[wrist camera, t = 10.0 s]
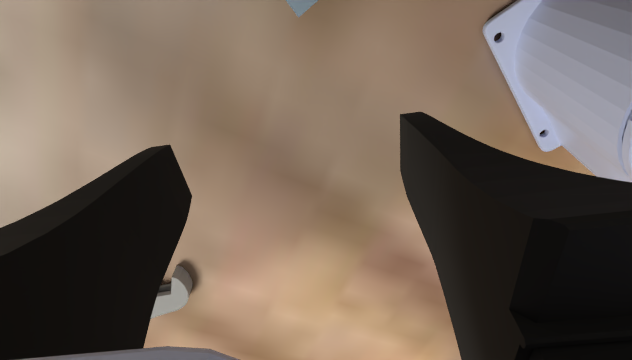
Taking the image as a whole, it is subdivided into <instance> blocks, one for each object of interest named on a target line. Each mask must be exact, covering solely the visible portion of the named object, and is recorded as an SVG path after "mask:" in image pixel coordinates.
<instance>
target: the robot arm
mask: <svg viewBox="0 0 632 360" xmlns="http://www.w3.org/2000/svg"><path fill="white" fill-rule="evenodd" d="M499 32H501V37H500V39H499V40H497V41H494V37H495V35H496V34H497V33H499ZM483 34H484V36H485V38H486V40H487V43H488V45H489V47H490V49H491V51H492V53H493V55H494V57H495V59H496V61H497V63H498V65H499V67H500V69H501V71H502V73H503V75H504V77H505V79H506V81H507V83H508V85H509V87H510V89H511V91H512V93H513V95H514V97H515V99H516V102H517V104H518V106H519V108H520V110H521V112H522V114H523V116H524V118H525V120H526V122H527V124H528V126H529V128H530V130H531V132H532V134H533V136H534V138H535V140H536V142H537V144H538V146H539V148H540V149H541V150H542V151H545V152H548V151H551V150H553V149H555V148H557V147H559V146H561V145H562V146H563V147H564V148H565V149H567V150H568V151H569V152H570V153H571V154H572V155H573V156H574V157H575V158H577V159H578V160H579V161H580V162H581V163H582V164H583V165H584V166H585V167H587V168H588V169H589V170H590V171H591V172H592V173H593V174H594V175H595V176H591V175H586V174H581V173H576V172H572V171H567V170H563V169H559V168H555V167H551V166H547V165H543V164H540V163H536V162H533V161H529V160H526V159H523V158H520V157H517V156H514V155H512V154H509V153H506V152H503V151H500V150H498V149H495V148H493V147H490V146H488V145H486V144H484V143H481V142H479V141H477V140H475V139H473V138H471V137H468V136H466V135H464V134H462V133H461V132H459V131H457V130H455V129H453V128H451V127H449V126H447V125H446V124H444V123H442V122H440V121H438V120H436V119H435V118H433V117H431V116H429V115H427V114H425V113H423V112H415V113H407V114H400V170H401V175H402V179H403V183H404V187H405V190H406V194H407V197H408V200H409V202H410V205H411V207H412V209H413V212H414V214H415V217H416V219H417V221H418V224H419V226H420V228H421V231H422V233H423V235H424V238H425V240H426V242H427V245H428V247H429V249H430V252H431V254H432V257H433V260H434V263H435V265H436V269H437V272H438V275H439V279H440V282H441V286H442V289H443V292H444V296H445V299H446V303H447V307H448V310H449V314H450V317H451V321H452V325H453V328H454V332H455V336H456V340H457V344H458V347H459V351H460V355H461V359H462V360H632V0H517V1H516V2H514V3H513V4H511V5H510V6H508V7H507V8H505V9H504V10H502V11H501V12H500V13H498V14H497V15H495V16H494V17H492V18H491V19H489V20H488V21H487V22H486V23H485V25H484V27H483ZM543 130H545V132H544V133H543V134H540V133H541V131H543ZM191 199H192V195H191V192H190V190H189V188H188V185H187V183H186V181H185V178H184V176H183V174H182V171H181V169H180V167H179V164H178V162H177V160H176V157H175V155H174V153H173V150H172V148H171V146H170V145H164V146H156V147H151V148H148V149H146V150H144V151H142V152H140V153H138V154H136V155H134V156H133V157H131V158H129V159H128V160H126V161H124V162H123V163H121V164H119V165H118V166H116V167H115V168H113V169H111V170H110V171H108V172H106V173H105V174H103V175H102V176H100V177H98V178H97V179H95V180H93V181H92V182H90V183H88V184H86V185H85V186H83V187H81V188H80V189H78V190H76V191H74V192H73V193H71V194H69V195H68V196H66V197H64V198H62V199H60V200H59V201H57V202H55V203H53V204H51V205H49V206H47V207H45V208H43V209H41V210H39V211H37V212H35V213H33V214H31V215H29V216H27V217H25V218H23V219H20V220H18V221H16V222H14V223H11V224H9V225H7V226H4V227H2V228H0V360H239V359H236V358H234V357H231V356H228V355H225V354H222V353H220V352H217V351H214V350H211V349H203V348H186V347H170V346H166V347H154V348H143V347H144V343H145V338H146V334H147V330H148V326H149V322H150V319H151V315H152V311H153V308H154V304H155V301H156V297H157V294H158V291H159V288H160V285H161V283H162V280H163V277H164V275H165V273H166V270H167V268H168V265H169V263H170V261H171V258H172V256H173V253H174V251H175V249H176V246H177V244H178V241H179V239H180V236H181V234H182V231H183V229H184V226H185V224H186V221H187V217H188V213H189V209H190V204H191Z"/></svg>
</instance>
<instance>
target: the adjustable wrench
mask: <svg viewBox="0 0 632 360" xmlns="http://www.w3.org/2000/svg"><path fill="white" fill-rule="evenodd" d="M192 286H193V284H192V279H191V277H190V275H189V273H188V272H187V271H186V270H185V269H184V268H183V267H181V266H179V265H177V266H176V268H175V271H174V273H173V275H172V282H171V283H170V284H165V285H160V288H159V291H158V294H157V297H156V301H155V304H154V308H153V311H152V315H151V318H154V317H157V316H160V315H163V314H166V313H170V312H173V311H177V310H179V309H181V308H182V307H183V306H185V305H186V303H187V301H188V298H189V295H190V292H191V289H192Z"/></svg>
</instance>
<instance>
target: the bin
mask: <svg viewBox="0 0 632 360" xmlns="http://www.w3.org/2000/svg"><path fill="white" fill-rule="evenodd" d="M286 1H287V3H288V4H289V5H290V7H291V8H292V9H293V11H294V12H295V13H296V15H297V16H298V17H299V16H301V15H302V14H303V13H304V12H305V11H306V10H308V9H309V8H310V7H311V6H312V5H313V4H314V3H316V2H317V1H318V0H286Z"/></svg>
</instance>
